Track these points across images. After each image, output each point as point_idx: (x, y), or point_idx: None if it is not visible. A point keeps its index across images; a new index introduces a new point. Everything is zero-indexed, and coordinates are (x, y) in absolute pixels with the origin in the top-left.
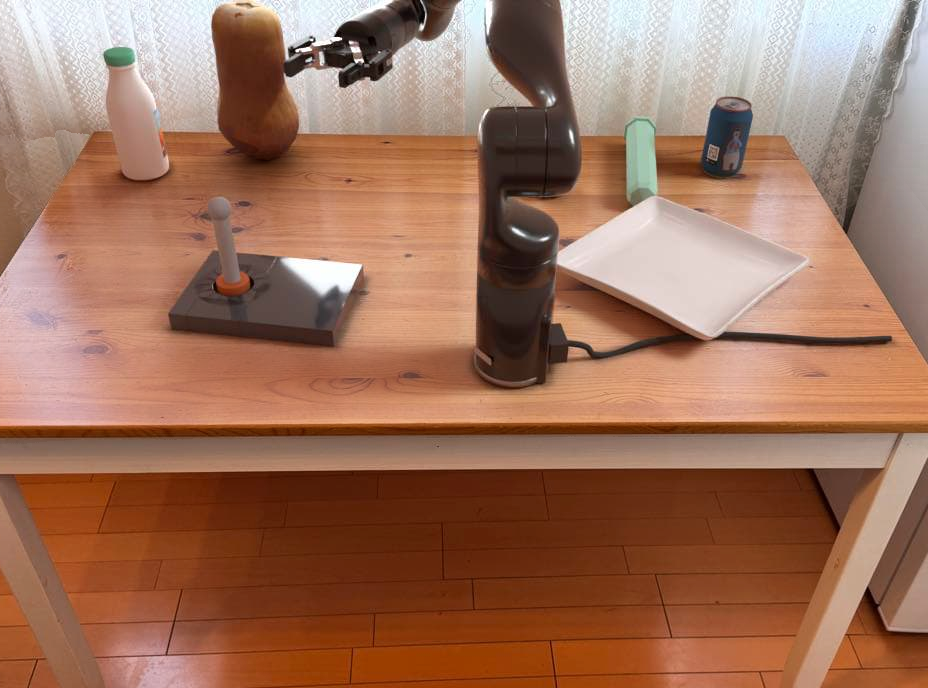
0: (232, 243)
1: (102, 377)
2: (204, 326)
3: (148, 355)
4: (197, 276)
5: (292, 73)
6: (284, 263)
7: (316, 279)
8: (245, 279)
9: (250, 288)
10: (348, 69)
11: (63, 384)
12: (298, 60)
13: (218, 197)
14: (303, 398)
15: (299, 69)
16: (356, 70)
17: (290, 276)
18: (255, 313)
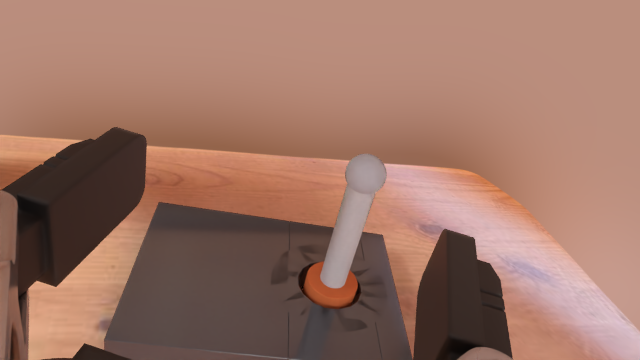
0: (336, 220)
1: (396, 199)
2: None
3: (373, 220)
4: (393, 301)
5: (421, 292)
6: (266, 336)
7: (196, 295)
8: (312, 278)
9: (304, 292)
10: (83, 150)
11: (423, 195)
12: (438, 311)
13: (371, 159)
14: (186, 167)
15: (418, 350)
16: (28, 174)
17: (245, 303)
18: (272, 231)
